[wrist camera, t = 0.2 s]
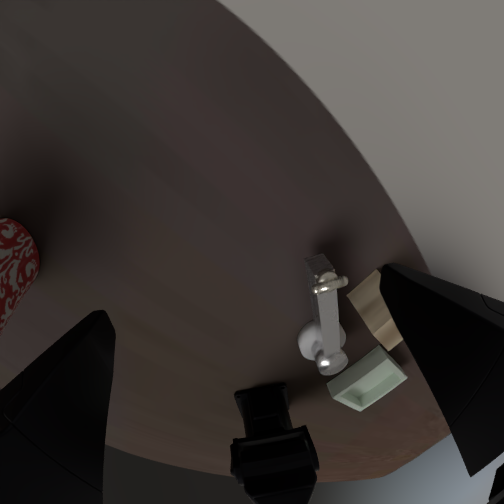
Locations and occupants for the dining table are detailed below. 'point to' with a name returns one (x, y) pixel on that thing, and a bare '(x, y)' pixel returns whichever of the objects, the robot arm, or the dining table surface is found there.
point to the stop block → (375, 311)
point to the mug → (15, 266)
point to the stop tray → (367, 380)
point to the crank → (325, 314)
